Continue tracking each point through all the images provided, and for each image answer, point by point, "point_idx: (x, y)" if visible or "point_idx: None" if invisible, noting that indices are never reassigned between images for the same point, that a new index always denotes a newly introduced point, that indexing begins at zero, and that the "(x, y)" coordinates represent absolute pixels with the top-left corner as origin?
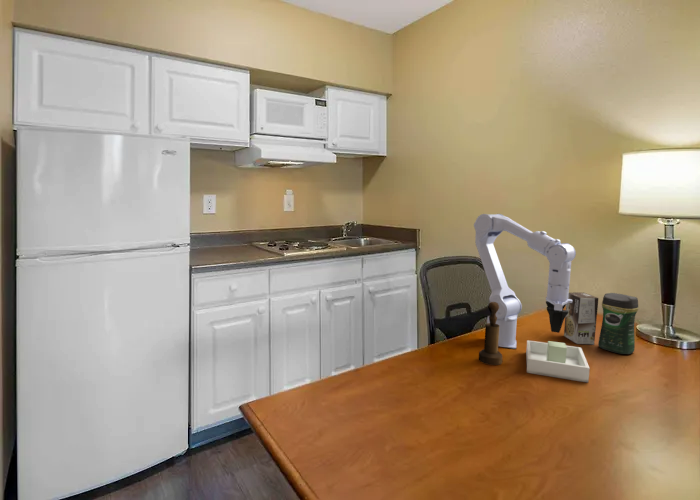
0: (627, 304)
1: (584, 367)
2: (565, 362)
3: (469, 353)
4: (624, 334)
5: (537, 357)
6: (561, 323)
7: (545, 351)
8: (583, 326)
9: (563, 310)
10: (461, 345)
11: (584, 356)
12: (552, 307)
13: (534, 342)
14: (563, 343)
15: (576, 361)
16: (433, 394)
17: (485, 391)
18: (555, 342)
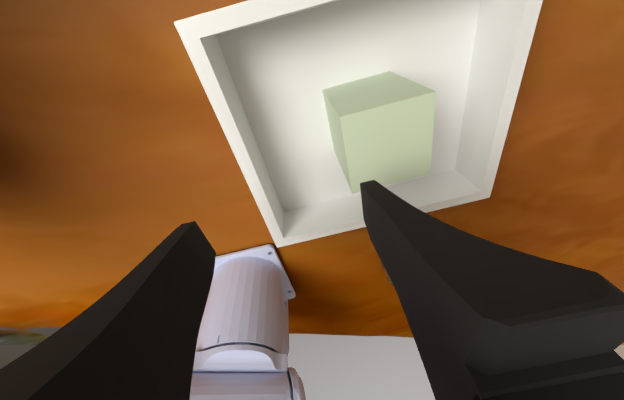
0: None
1: None
2: (312, 81)
3: (378, 292)
4: None
5: (322, 180)
6: (423, 216)
7: (265, 173)
8: None
9: (533, 357)
10: (335, 315)
11: None
12: (162, 397)
13: (278, 225)
14: (351, 123)
15: (260, 35)
16: (614, 260)
17: (601, 208)
18: (358, 161)
